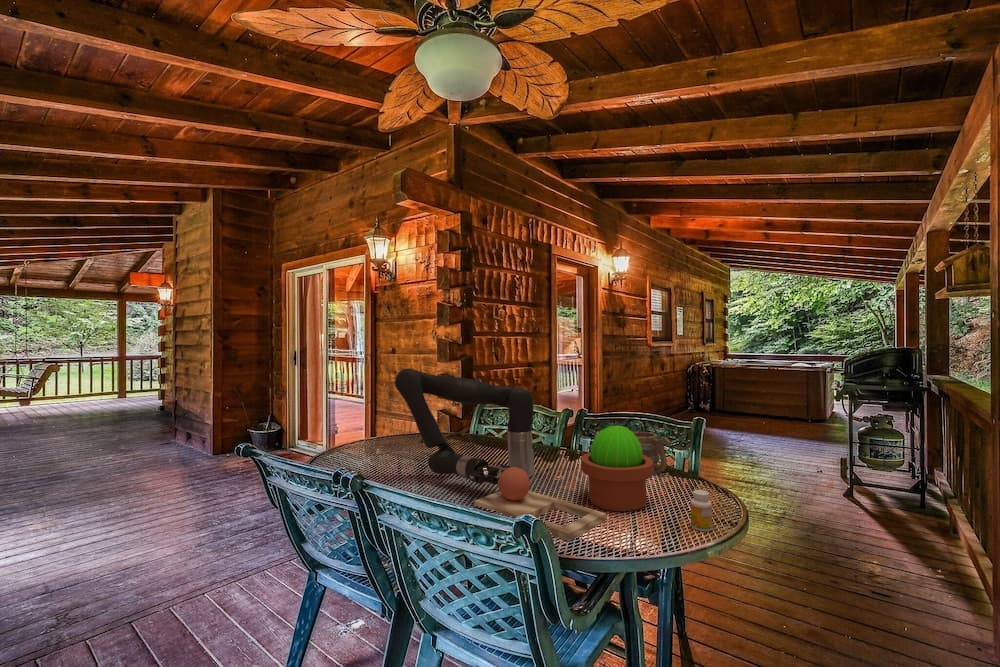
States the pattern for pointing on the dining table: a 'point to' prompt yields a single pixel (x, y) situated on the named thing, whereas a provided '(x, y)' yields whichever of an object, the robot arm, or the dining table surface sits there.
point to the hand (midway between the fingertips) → (506, 478)
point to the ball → (514, 483)
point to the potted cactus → (617, 470)
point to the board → (541, 505)
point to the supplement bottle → (701, 511)
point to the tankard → (653, 449)
